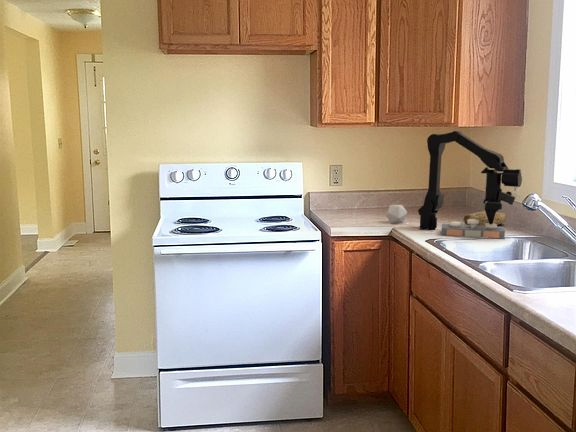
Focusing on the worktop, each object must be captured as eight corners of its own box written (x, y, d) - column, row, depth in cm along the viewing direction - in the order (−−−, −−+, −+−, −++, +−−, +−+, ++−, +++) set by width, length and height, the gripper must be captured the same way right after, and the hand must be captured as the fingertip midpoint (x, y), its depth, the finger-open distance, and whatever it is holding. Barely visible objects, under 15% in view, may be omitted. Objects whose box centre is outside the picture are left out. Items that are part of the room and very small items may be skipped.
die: (404, 222, 297) (392, 204, 298) (414, 215, 289) (401, 196, 290) (391, 231, 293) (378, 212, 294) (401, 224, 285) (388, 205, 286)
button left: (448, 232, 265) (449, 222, 265) (448, 230, 270) (449, 221, 269) (460, 233, 264) (460, 223, 264) (459, 231, 269) (460, 221, 268)
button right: (485, 234, 262) (485, 224, 261) (484, 232, 266) (485, 222, 266) (496, 235, 261) (497, 225, 260) (495, 233, 265) (496, 223, 265)
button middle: (466, 230, 263) (467, 220, 263) (466, 228, 268) (467, 218, 267) (478, 231, 262) (478, 221, 262) (478, 229, 267) (478, 219, 266)
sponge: (474, 232, 279) (516, 221, 282) (469, 214, 279) (512, 203, 282) (461, 232, 292) (502, 222, 295) (457, 215, 292) (498, 205, 295)
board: (441, 235, 263) (441, 228, 262) (441, 230, 274) (442, 223, 273) (504, 239, 257) (505, 231, 257) (502, 234, 268) (503, 226, 267)
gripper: (516, 188, 250) (514, 229, 252) (512, 183, 268) (510, 221, 270) (486, 187, 252) (483, 227, 255) (484, 182, 270) (481, 220, 273)
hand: (490, 224), depth 263 cm, fingers closed, pressing on button right
